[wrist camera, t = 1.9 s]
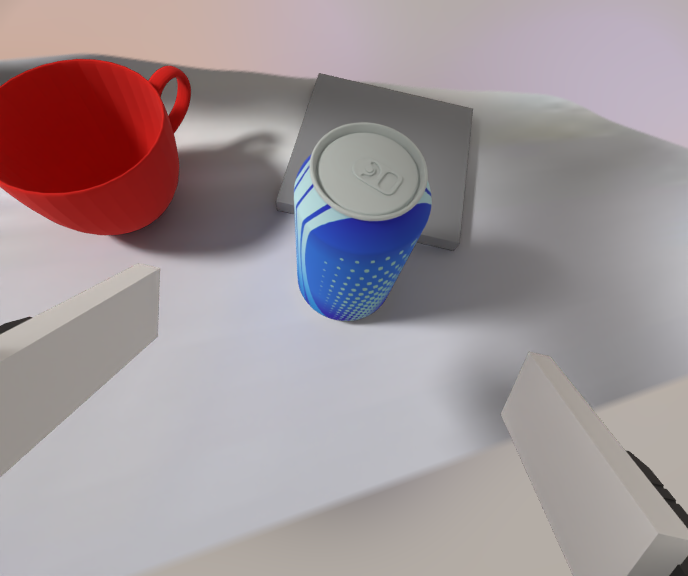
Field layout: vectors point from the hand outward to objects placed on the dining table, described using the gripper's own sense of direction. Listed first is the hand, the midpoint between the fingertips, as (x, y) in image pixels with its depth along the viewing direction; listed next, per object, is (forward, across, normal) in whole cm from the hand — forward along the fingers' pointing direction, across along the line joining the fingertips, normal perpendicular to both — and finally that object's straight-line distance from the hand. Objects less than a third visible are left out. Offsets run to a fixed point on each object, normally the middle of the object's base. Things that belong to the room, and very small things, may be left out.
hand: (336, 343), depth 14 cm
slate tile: (+32, +1, +5) cm, 32 cm away
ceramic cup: (+25, -21, -2) cm, 33 cm away
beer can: (+22, 0, -6) cm, 23 cm away
